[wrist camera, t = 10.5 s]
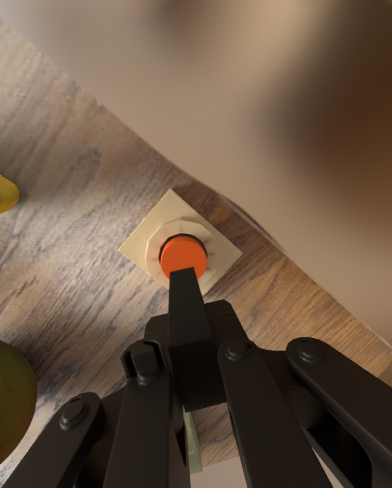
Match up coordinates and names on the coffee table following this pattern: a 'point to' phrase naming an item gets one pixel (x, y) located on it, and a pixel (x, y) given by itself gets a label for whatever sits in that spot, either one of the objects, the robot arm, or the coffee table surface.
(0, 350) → the fruit
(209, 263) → the switch base
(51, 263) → the coffee table surface
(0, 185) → the bottle
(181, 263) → the switch button
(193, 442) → the dial base
